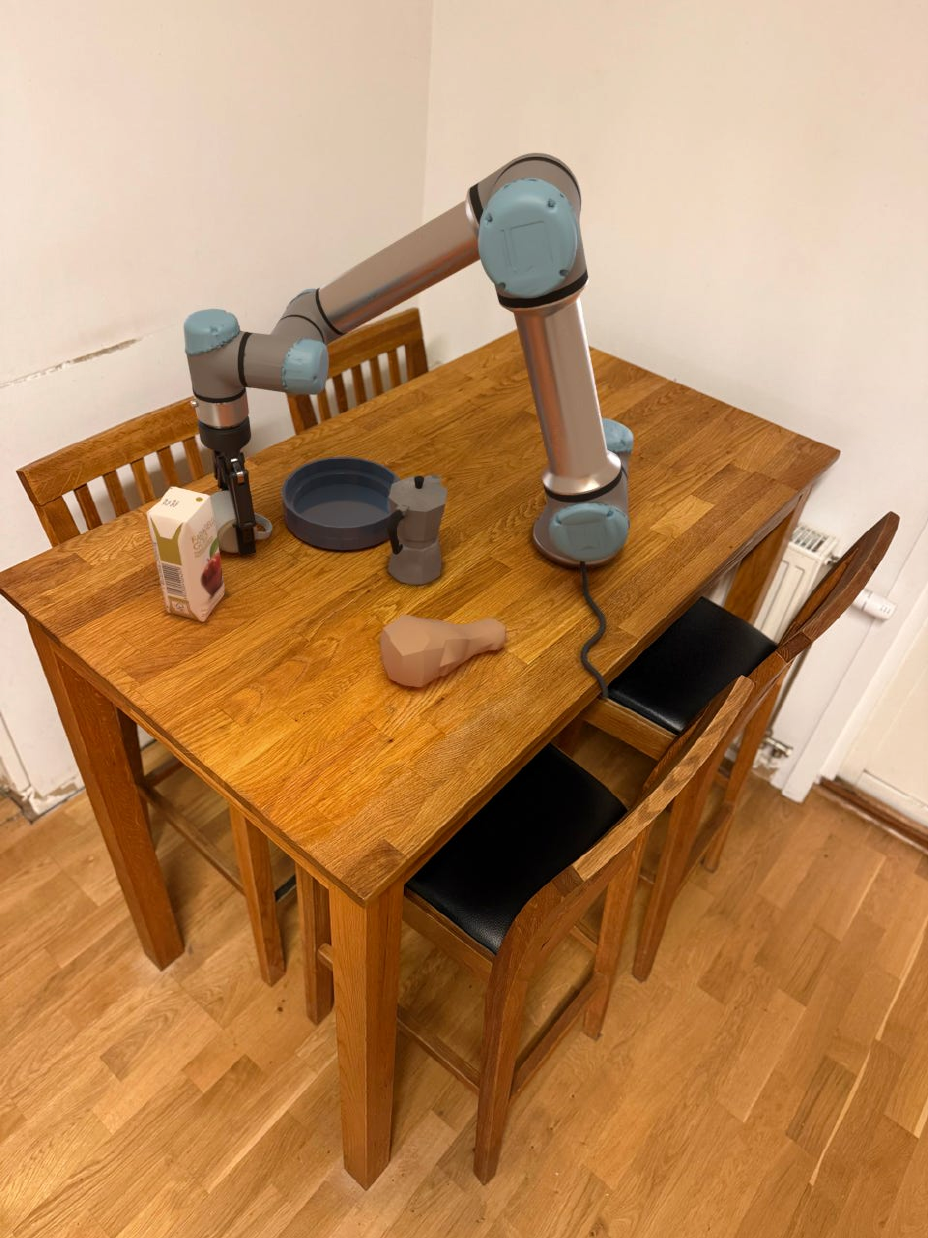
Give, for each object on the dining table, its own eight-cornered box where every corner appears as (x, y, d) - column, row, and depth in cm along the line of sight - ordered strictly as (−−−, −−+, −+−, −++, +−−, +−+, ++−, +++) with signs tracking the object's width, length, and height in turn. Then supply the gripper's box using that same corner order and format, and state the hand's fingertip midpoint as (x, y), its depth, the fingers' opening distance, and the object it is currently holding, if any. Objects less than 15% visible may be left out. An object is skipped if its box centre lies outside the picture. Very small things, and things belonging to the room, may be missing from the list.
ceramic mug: (219, 561, 142) (214, 523, 137) (201, 533, 147) (195, 495, 142) (281, 543, 147) (278, 505, 142) (262, 516, 152) (258, 479, 147)
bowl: (422, 537, 153) (423, 511, 149) (306, 565, 145) (305, 539, 141) (376, 472, 166) (377, 447, 162) (268, 495, 158) (266, 469, 154)
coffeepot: (409, 537, 152) (413, 447, 140) (458, 556, 150) (466, 466, 137) (362, 588, 142) (361, 495, 130) (413, 608, 139) (418, 516, 127)
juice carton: (159, 615, 134) (137, 514, 121) (188, 580, 140) (169, 480, 127) (205, 627, 133) (188, 526, 120) (231, 592, 139) (217, 492, 126)
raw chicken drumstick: (363, 662, 130) (365, 610, 126) (476, 634, 140) (483, 585, 136) (397, 703, 123) (401, 648, 118) (515, 670, 133) (523, 619, 128)
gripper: (180, 387, 137) (201, 507, 152) (216, 458, 123) (235, 581, 139) (228, 379, 139) (244, 497, 155) (269, 448, 126) (281, 570, 141)
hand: (239, 537), depth 147 cm, fingers closed on ceramic mug, 8 cm apart
